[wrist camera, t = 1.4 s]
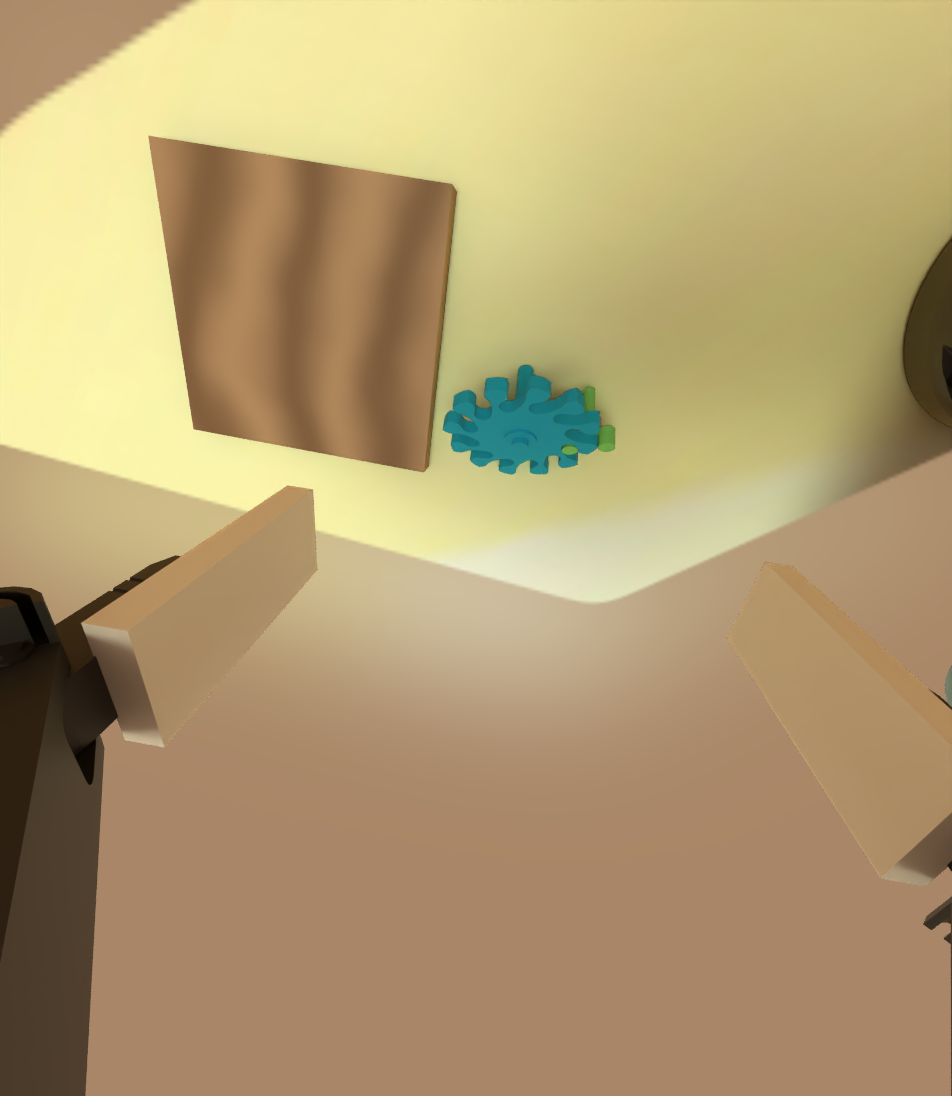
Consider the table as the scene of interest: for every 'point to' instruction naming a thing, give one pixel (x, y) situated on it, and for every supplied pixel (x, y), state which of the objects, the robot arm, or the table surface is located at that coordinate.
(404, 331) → the mount plate
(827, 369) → the table surface
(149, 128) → the table surface
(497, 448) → the gear
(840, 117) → the table surface
